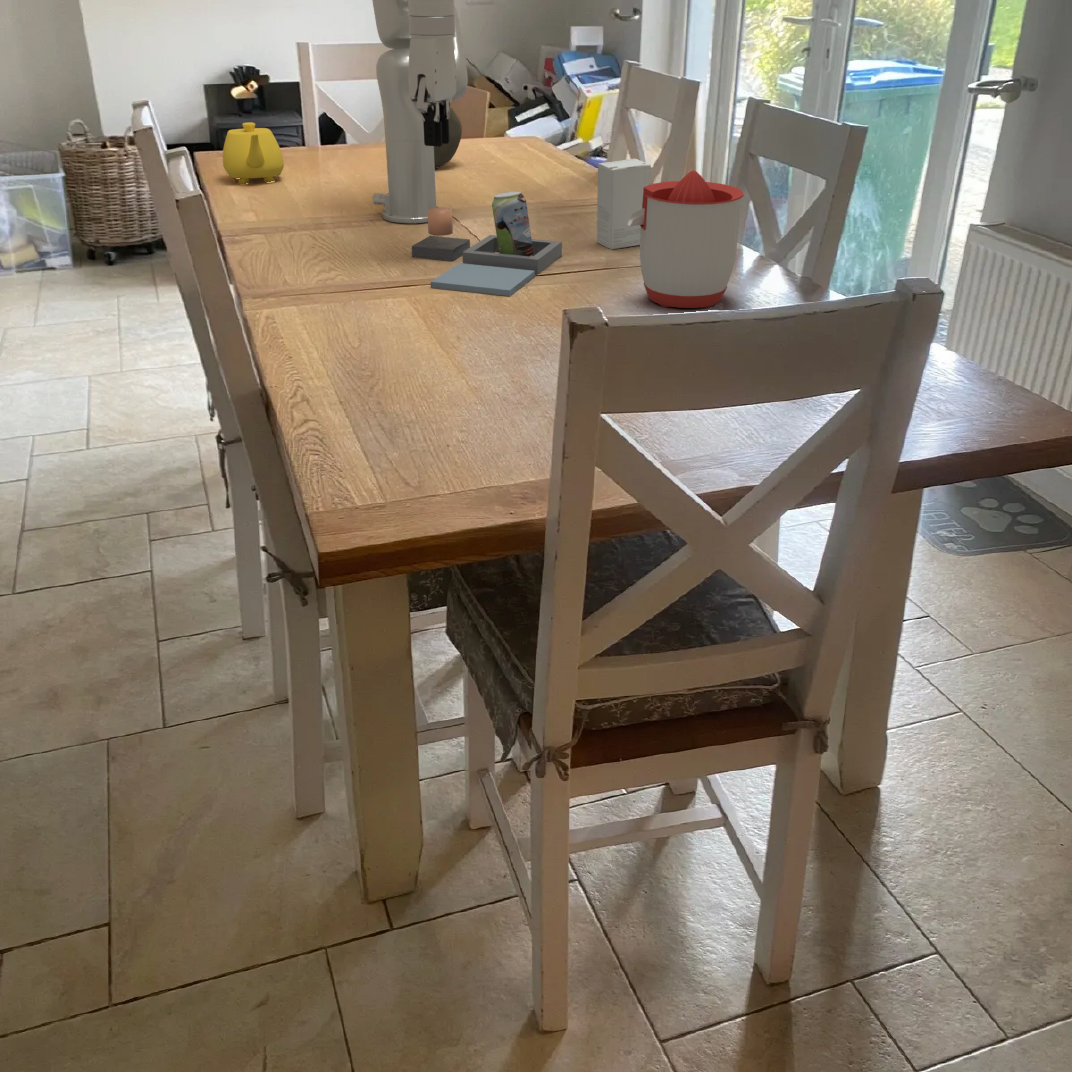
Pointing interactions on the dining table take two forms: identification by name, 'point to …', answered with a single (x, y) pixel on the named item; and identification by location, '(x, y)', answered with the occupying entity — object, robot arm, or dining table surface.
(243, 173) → the teapot
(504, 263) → the frame
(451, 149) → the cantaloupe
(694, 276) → the citrus juicer
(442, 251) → the button base
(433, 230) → the button
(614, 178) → the skincare box
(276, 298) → the dining table surface
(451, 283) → the mat
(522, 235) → the beverage can
